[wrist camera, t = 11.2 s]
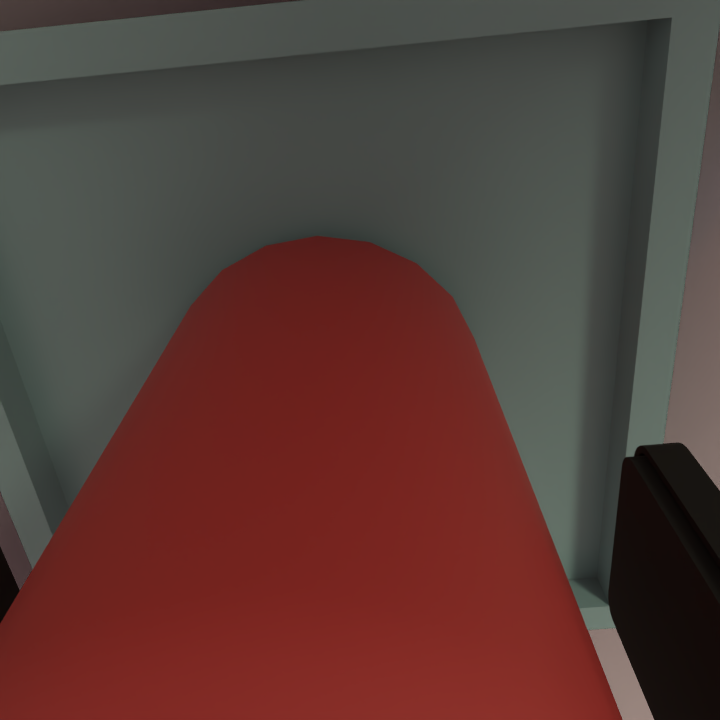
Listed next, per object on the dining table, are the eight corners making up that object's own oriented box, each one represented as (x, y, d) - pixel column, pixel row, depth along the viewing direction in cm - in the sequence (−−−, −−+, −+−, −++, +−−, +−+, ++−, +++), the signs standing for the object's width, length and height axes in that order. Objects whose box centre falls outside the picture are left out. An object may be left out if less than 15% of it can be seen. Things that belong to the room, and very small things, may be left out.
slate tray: (680, -35, 12) (729, -45, 11) (614, 575, 19) (638, 626, 17) (-115, 46, 13) (-183, 50, 11) (95, 612, 19) (72, 665, 18)
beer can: (530, 392, 15) (946, 1250, 5) (309, 532, 17) (231, 1388, 6) (352, 159, 13) (338, 778, 2) (117, 348, 15) (-525, 1207, 4)
